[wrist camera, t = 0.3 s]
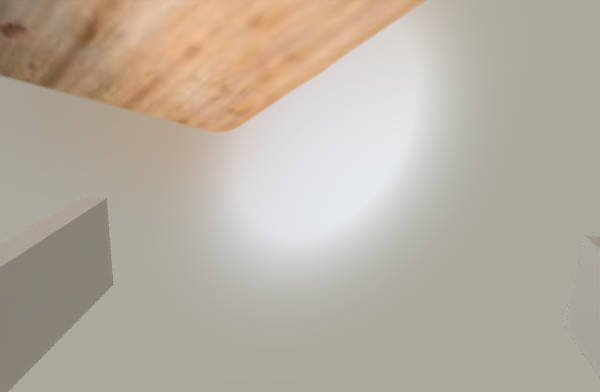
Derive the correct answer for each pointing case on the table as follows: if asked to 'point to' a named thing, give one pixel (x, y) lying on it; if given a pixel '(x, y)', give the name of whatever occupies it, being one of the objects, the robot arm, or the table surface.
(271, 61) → the table surface
